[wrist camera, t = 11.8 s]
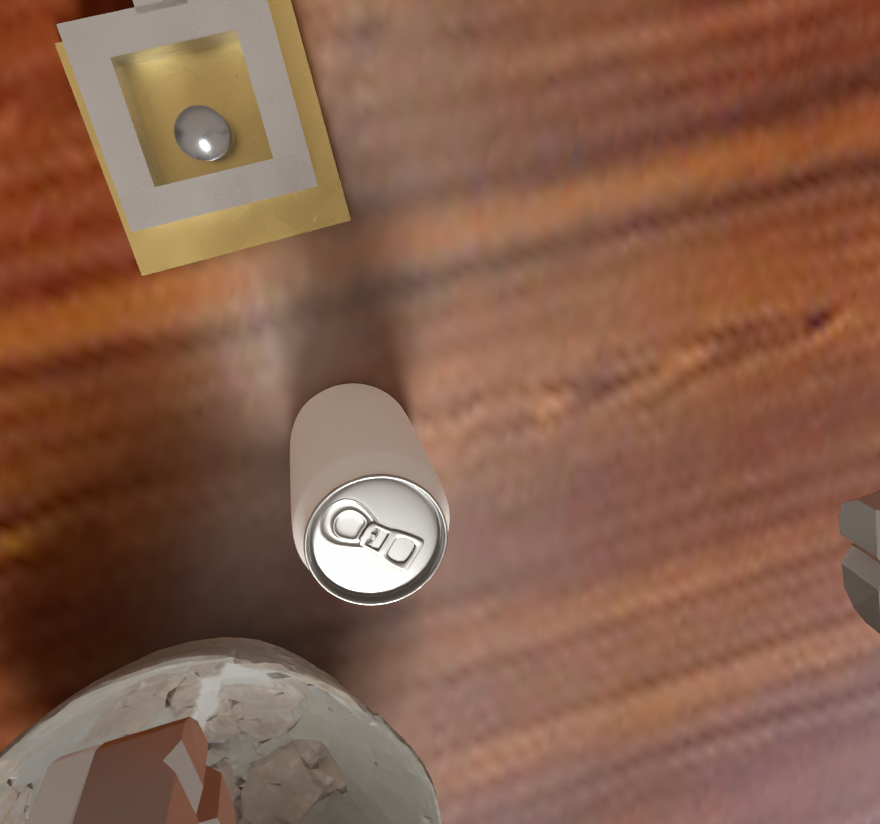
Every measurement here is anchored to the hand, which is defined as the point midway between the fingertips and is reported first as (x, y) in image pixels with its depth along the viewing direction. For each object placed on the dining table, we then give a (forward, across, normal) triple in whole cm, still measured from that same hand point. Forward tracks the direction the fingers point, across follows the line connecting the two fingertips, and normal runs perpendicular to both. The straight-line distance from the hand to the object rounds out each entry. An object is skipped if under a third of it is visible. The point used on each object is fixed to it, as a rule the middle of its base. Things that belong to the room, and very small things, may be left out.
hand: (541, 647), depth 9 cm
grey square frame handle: (+30, +4, -12) cm, 32 cm away
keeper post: (+31, +4, -8) cm, 32 cm away
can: (+31, +2, +8) cm, 32 cm away
